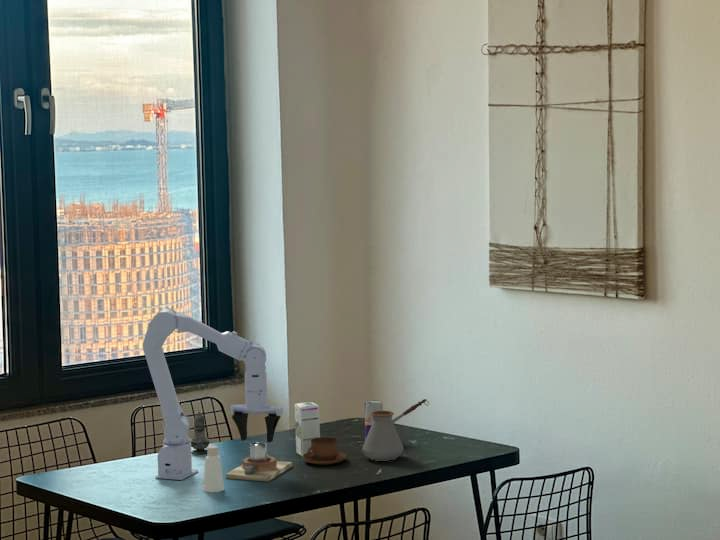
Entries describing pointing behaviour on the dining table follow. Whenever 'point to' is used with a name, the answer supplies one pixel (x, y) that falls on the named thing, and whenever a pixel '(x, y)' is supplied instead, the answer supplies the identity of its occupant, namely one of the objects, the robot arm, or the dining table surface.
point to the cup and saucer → (324, 452)
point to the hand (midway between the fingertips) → (257, 440)
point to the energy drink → (369, 408)
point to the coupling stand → (259, 469)
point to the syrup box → (306, 426)
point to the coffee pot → (385, 436)
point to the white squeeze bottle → (213, 471)
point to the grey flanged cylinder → (199, 436)
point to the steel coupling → (258, 452)
